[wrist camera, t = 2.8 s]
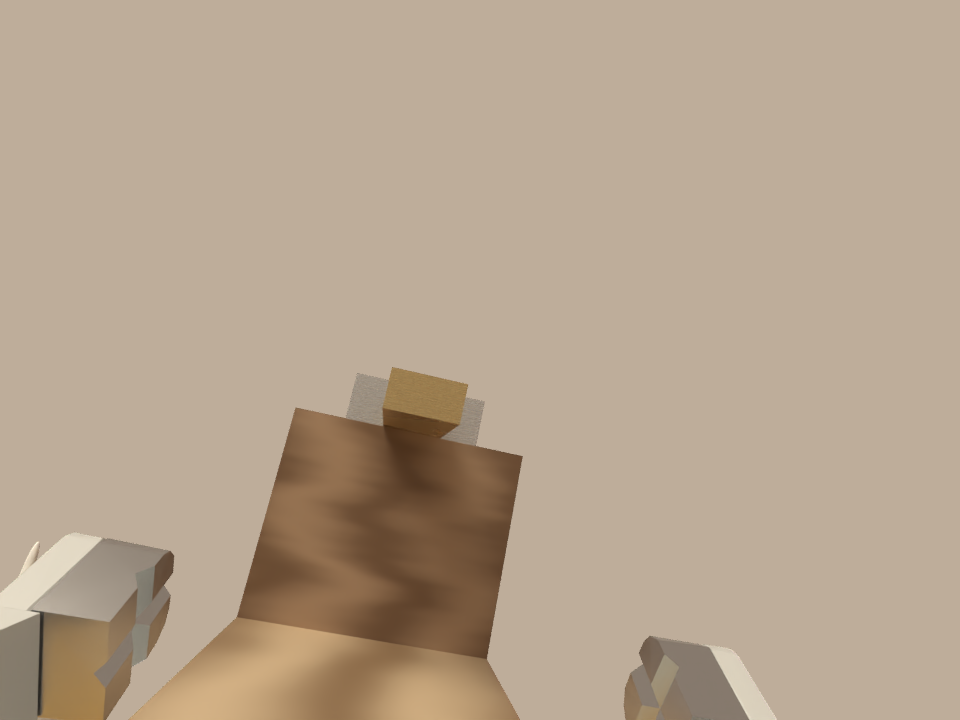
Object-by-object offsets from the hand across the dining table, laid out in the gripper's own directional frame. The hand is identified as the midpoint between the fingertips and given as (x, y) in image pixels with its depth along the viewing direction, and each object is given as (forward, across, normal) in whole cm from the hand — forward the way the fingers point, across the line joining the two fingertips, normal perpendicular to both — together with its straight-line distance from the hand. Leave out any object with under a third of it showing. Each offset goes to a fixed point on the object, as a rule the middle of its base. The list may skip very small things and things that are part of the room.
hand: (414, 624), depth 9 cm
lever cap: (+18, 0, -5) cm, 19 cm away
